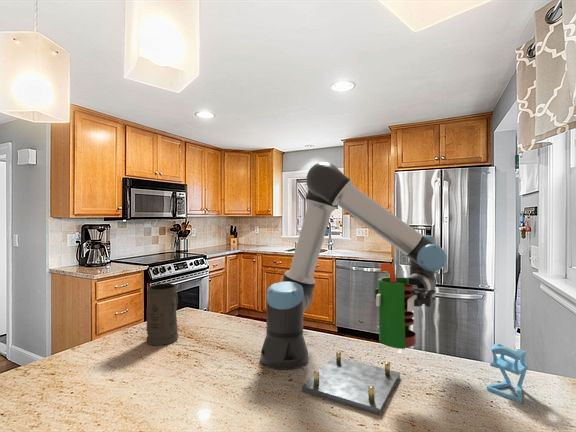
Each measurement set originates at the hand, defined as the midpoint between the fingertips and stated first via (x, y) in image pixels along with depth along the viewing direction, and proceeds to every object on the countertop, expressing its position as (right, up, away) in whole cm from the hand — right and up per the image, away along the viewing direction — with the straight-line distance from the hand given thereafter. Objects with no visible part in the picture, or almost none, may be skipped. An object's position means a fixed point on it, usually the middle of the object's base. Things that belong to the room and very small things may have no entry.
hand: (393, 303), depth 79 cm
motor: (+2, -11, +4) cm, 12 cm away
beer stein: (-71, -24, +41) cm, 86 cm away
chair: (+32, -25, +5) cm, 41 cm away
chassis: (-8, -24, +8) cm, 27 cm away
